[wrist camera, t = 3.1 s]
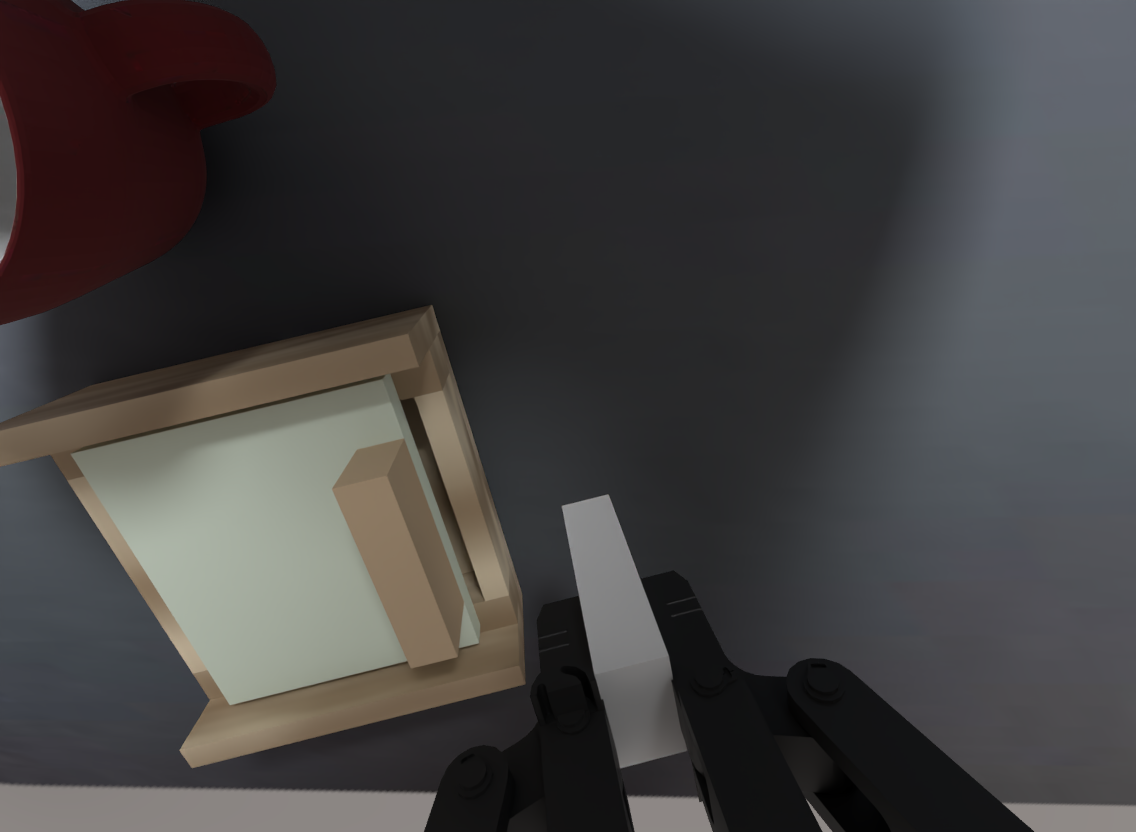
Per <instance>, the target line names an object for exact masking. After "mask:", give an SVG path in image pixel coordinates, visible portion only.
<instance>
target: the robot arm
mask: <svg viewBox="0 0 1136 832" xmlns="http://www.w3.org/2000/svg"><path fill="white" fill-rule="evenodd" d="M562 510H563V515H564V521H565V526H566V531H567V536H568V541H569V546H570V551H571V557H572V562H573V567H574V572H575V577H576V582H577V588H578V593H579V596H577V597H573V598H569V599H565V600H561V601H557V602H553V603H549V604H545V605H543V607H542V610H541V612H540V614H539V617H538V619H537V629H538V639H539V640H538V642H539V652H540V653H539V655H540V668H541V673H540V674H539V675H538V677H537V678H536V680H535V682H534V683H533V685H532V689H531V695H530V698H531V701H532V704H533V707H534V710H535V713H536V716H537V719H538V722H537V724H536V726H535V727H534V728H533V730H532V731H531V732H530V733H529V734H528V735H527V736H526V737H524V738H523V739H522V740H520V741H519V742H517V743H516V744H514V745H512V746H511V747H509V748H508V749H506V750H504V751H503V752H501V751H499V750H498V749H497V748H495V747H491V746H486V745H482V746H478V747H473V748H470V749H468V750H467V751H465V752H463V753H462V754H460V755H459V756H458V757H457V758H456V759H455V760H454V761H453V762H452V763H451V764H450V765H449V766H448V768H447V770H446V772H445V774H444V776H443V778H442V780H441V783H440V786H439V789H438V792H437V795H436V798H435V801H434V804H433V807H432V810H431V813H430V816H429V818H428V821H427V825H426V827H425V830H424V832H634V827H633V822H632V818H631V813H630V808H629V804H628V799H627V794H626V791H625V787H624V783H623V779H622V775H621V770H620V768H624V767H628V766H632V765H635V764H639V763H643V762H647V761H651V760H654V759H658V758H662V757H666V756H670V755H673V754H677V753H681V752H685V751H687V749H688V752H689V755H690V757H691V761H692V766H693V771H694V776H695V782H696V787H697V792H698V797H699V802H701V801H703V804H704V806H705V810H706V813H707V816H708V819H709V822H710V825H711V827H712V831H713V832H822V830H821V828H820V826H819V824H818V822H817V820H816V818H815V816H814V815H813V813H812V811H811V809H810V807H809V805H808V803H807V801H806V799H807V800H808V801H809V803H810V804H811V805H812V806H813V808H814V809H815V810H816V811H817V813H818V814H819V815H820V816H821V818H822V819H823V820H824V821H825V823H826V824H827V825H828V827H829V828H830V829H831V830H832V832H1034V831H1033V830H1032V829H1031V828H1030V827H1028V826H1027V825H1026V824H1025V823H1024V822H1022V820H1020V819H1019V818H1018V817H1017V816H1016V815H1015V814H1013V813H1012V812H1011V811H1010V810H1009V809H1008V808H1007V807H1006V806H1004V805H1003V804H1002V803H1001V802H1000V801H999V800H998V799H996V798H995V797H994V796H993V795H992V794H991V793H990V792H988V791H987V790H986V789H985V788H984V787H983V786H982V785H980V784H979V783H978V782H977V781H976V780H975V779H974V778H972V777H971V776H970V775H969V774H968V773H967V772H965V771H964V770H963V769H962V768H961V767H960V766H959V765H957V764H956V763H955V762H954V761H953V760H952V759H951V758H949V757H948V756H947V755H946V754H945V753H944V752H943V751H941V750H940V749H939V748H938V747H937V746H936V745H935V744H933V743H932V742H931V741H930V740H929V739H928V738H927V737H925V736H924V735H923V734H922V733H921V732H920V731H919V730H917V729H916V728H915V727H914V726H913V725H912V724H911V723H909V722H908V721H907V720H906V719H905V718H904V717H903V716H901V715H900V714H899V713H898V712H897V711H896V710H895V709H893V708H892V707H891V706H890V705H889V704H888V703H887V702H885V701H884V700H883V699H882V698H881V697H880V696H879V695H877V694H876V693H875V692H874V691H873V690H872V689H871V688H869V687H868V686H867V685H866V684H865V683H864V682H863V681H861V680H860V679H859V678H858V677H857V676H856V675H855V674H853V673H852V672H851V671H850V670H848V669H847V668H845V667H843V666H842V665H840V664H839V663H836V662H833V661H830V660H827V659H816V658H810V659H806V660H803V661H800V662H797V663H796V664H795V665H794V666H793V667H791V668H790V669H789V672H788V675H787V677H774V676H760V675H754V674H751V673H748V672H745V671H743V670H741V669H739V668H738V667H736V666H735V665H733V664H732V663H731V662H730V661H729V660H728V659H727V657H726V656H725V654H724V653H723V651H722V649H721V647H720V645H719V643H718V641H717V639H716V637H715V635H714V633H713V631H712V629H711V627H710V625H709V623H708V621H707V619H706V617H705V615H704V613H703V611H702V610H701V607H700V605H699V603H698V601H697V599H696V598H695V595H694V593H693V591H692V589H691V587H690V585H689V583H688V581H687V580H685V579H684V578H683V577H682V576H680V575H679V574H678V573H676V572H675V571H670V572H666V573H662V574H658V575H654V576H650V577H646V578H642V579H640V577H639V575H638V572H637V569H636V567H635V564H634V561H633V559H632V556H631V553H630V551H629V548H628V545H627V543H626V540H625V537H624V534H623V532H622V529H621V526H620V524H619V521H618V518H617V516H616V513H615V510H614V508H613V505H612V502H611V500H610V497H609V494H608V495H604V496H600V497H596V498H592V499H588V500H584V501H580V502H576V503H572V504H568V505H563V506H562ZM686 746H687V748H686ZM804 796H805V797H804ZM805 798H806V799H805Z"/></svg>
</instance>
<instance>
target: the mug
mask: <svg viewBox="0 0 1136 832" xmlns="http://www.w3.org/2000/svg"><path fill="white" fill-rule="evenodd" d="M176 82H177V83H176ZM276 86H277V84H276V74H275V69H274V66H273V63H272V60H271V57H270V54H269V52H268V51H267V49H266V47H265V45H264V43H263V42H262V40H261V39H260V38H259V36H258V35H257V34H256V33H255V32H254V30H253V29H252V28H251V27H250V26H249V25H248V24H247V23H246V22H244V21H243V20H241V19H240V18H239V17H237V16H235V15H233V14H231V13H229V12H227V11H224V10H222V9H220V8H217V7H214V6H210V5H207V4H203V3H198V2H192V1H185V0H126V1H120V2H115V3H110V4H105V5H102V6H99V7H95V8H92V9H89V10H86V11H84V10H83V9H82V8H80V7H79V6H78V5H76V4H75V3H74V2H73V1H71V0H0V325H2V324H6V323H10V322H13V321H17V320H20V319H23V318H27V317H30V316H33V315H37V314H40V313H43V312H45V311H48V310H50V309H53V308H55V307H58V306H60V305H62V304H64V303H67V302H69V301H71V300H73V299H76V298H78V297H80V296H82V295H84V294H86V293H88V292H90V291H92V290H94V289H96V288H99V287H101V286H103V285H105V284H107V283H109V282H111V281H113V280H115V279H117V278H119V277H121V276H123V275H125V274H127V273H129V272H131V271H133V270H135V269H138V268H140V267H142V266H144V265H146V264H148V263H150V262H152V261H153V260H155V259H157V258H158V257H160V256H162V255H164V254H165V253H167V252H168V251H169V250H170V249H172V248H173V247H174V246H175V245H176V244H178V243H179V242H180V241H181V240H182V239H183V238H184V236H185V235H186V234H187V233H188V231H189V230H190V229H191V227H192V225H193V224H194V222H195V220H196V219H197V217H198V214H199V212H200V210H201V207H202V204H203V201H204V196H205V191H206V182H207V169H206V160H205V155H204V149H203V145H202V140H201V135H200V130H202V129H204V128H207V127H210V126H213V125H216V124H220V123H223V122H226V121H230V120H233V119H236V118H240V117H242V116H245V115H247V114H250V113H252V112H254V111H256V110H257V109H259V108H261V107H263V106H264V105H265V104H267V103H268V102H269V101H270V100H271V98H272V97H273V94H274V91H275V88H276Z"/></svg>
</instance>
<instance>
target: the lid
mask: <svg viewBox="0 0 1136 832" xmlns="http://www.w3.org/2000/svg"><path fill="white" fill-rule="evenodd" d="M71 456H72V457H73V459H74V460H75V462H76V464H77V465H78V467H79V468H80V470H81V471H82V473H83V475H84V476H85V478H86V479H87V481H88V482H89V484H90V486H91V487H92V489H93V490H94V492H95V494H96V495H97V497H98V498H99V500H100V501H101V503H102V505H103V506H104V508H105V509H106V511H107V512H108V514H109V516H110V517H111V519H112V520H113V522H114V523H115V525H116V527H117V528H118V530H119V531H120V533H121V534H122V536H123V538H124V539H125V541H126V542H127V544H128V546H129V547H130V549H131V550H132V552H133V553H134V555H135V557H136V558H137V560H138V561H139V563H140V564H141V566H142V568H143V569H144V571H145V572H146V574H147V575H148V577H149V579H150V580H151V582H152V583H153V585H154V586H155V588H156V590H157V591H158V593H159V594H160V596H161V598H162V599H163V601H164V602H165V604H166V605H167V607H168V609H169V610H170V612H171V613H172V615H173V616H174V618H175V620H176V621H177V623H178V624H179V626H180V627H181V629H182V631H183V632H184V634H185V635H186V637H187V638H188V640H189V642H190V643H191V645H192V646H193V648H194V650H195V651H196V653H197V654H198V656H199V657H200V659H201V661H202V662H203V664H204V665H205V667H206V668H207V670H208V672H209V673H210V675H211V676H212V678H213V679H214V681H215V683H216V684H217V686H218V687H219V689H220V690H221V692H222V694H223V695H224V697H225V698H226V700H227V702H228V703H229V705H233V704H237V703H241V702H245V701H249V700H253V699H257V698H261V697H265V696H269V695H273V694H277V693H281V692H285V691H289V690H293V689H297V688H301V687H305V686H309V685H313V684H317V683H321V682H325V681H329V680H333V679H337V678H341V677H345V676H349V675H353V674H357V673H361V672H365V671H369V670H374V669H378V668H382V667H386V666H390V665H394V664H398V663H402V662H406V661H408V663H409V666H410V668H411V669H412V668H416V667H420V666H424V665H428V664H432V663H436V662H440V661H444V660H448V659H452V658H456V657H458V651H459V648H462V647H466V646H470V645H474V644H478V643H479V637H480V623H479V620H478V617H477V614H476V611H475V609H474V606H473V603H472V600H471V597H470V595H469V592H468V589H467V586H466V584H465V581H464V578H463V575H462V572H461V570H460V567H459V564H458V561H457V558H456V556H455V553H454V550H453V547H452V545H451V542H450V539H449V536H448V533H447V531H446V528H445V525H444V522H443V519H442V517H441V514H440V511H439V508H438V505H437V503H436V500H435V497H434V494H433V492H432V489H431V486H430V483H429V480H428V478H427V475H426V472H425V469H424V466H423V464H422V461H421V458H420V455H419V453H418V450H417V447H416V444H415V441H414V439H413V436H412V433H411V430H410V427H409V425H408V422H407V419H406V416H405V414H404V411H403V408H402V405H401V402H400V400H399V397H398V394H397V391H396V388H395V386H394V383H393V380H392V377H391V374H386V375H382V376H378V377H373V378H369V379H365V380H361V381H357V382H352V383H348V384H344V385H340V386H336V387H332V388H327V389H323V390H319V391H315V392H311V393H306V394H302V395H298V396H294V397H290V398H285V399H281V400H277V401H273V402H269V403H264V404H260V405H256V406H252V407H248V408H244V409H239V410H235V411H231V412H227V413H223V414H218V415H214V416H210V417H206V418H202V419H197V420H193V421H189V422H185V423H181V424H177V425H172V426H168V427H164V428H160V429H156V430H151V431H147V432H143V433H139V434H135V435H130V436H126V437H122V438H118V439H114V440H109V441H105V442H101V443H97V444H93V445H89V446H84V447H82V448H80V449H78V450H76V451H75V452H73V453H71Z"/></svg>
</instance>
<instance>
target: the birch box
mask: <svg viewBox="0 0 1136 832" xmlns="http://www.w3.org/2000/svg"><path fill="white" fill-rule="evenodd" d="M386 374H391V377H392V380H393V383H394V386H395V388H396V391H397V394H398V397H399V400H400V402H401V405H402V408H403V411H404V414H405V416H406V419H407V422H408V425H409V427H410V430H411V433H412V436H413V439H414V441H415V444H416V447H417V450H418V453H419V455H420V458H421V461H422V464H423V466H424V469H425V472H426V475H427V478H428V480H429V483H430V486H431V489H432V492H433V494H434V497H435V500H436V503H437V505H438V508H439V511H440V514H441V517H442V519H443V522H444V525H445V528H446V531H447V533H448V536H449V539H450V542H451V545H452V547H453V550H454V553H455V556H456V558H457V561H458V564H459V567H460V570H461V572H462V575H463V578H464V581H465V584H466V586H467V589H468V592H469V595H470V597H471V600H472V603H473V606H474V609H475V611H476V614H477V617H478V620H479V623H480V637H479V643H478V644H474V645H470V646H466V647H462V648H459V651H458V657H456V658H452V659H448V660H444V661H440V662H436V663H432V664H428V665H424V666H420V667H416V668H412V669H411V668H410V666H409V663H408V661H406V662H402V663H398V664H394V665H390V666H386V667H382V668H378V669H374V670H369V671H365V672H361V673H357V674H353V675H349V676H345V677H341V678H337V679H333V680H329V681H325V682H321V683H317V684H313V685H309V686H305V687H301V688H297V689H293V690H289V691H285V692H281V693H277V694H273V695H269V696H265V697H261V698H257V699H253V700H249V701H245V702H241V703H237V704H233V705H229V703H228V702H227V700H226V698H225V697H224V695H223V694H222V692H221V690H220V689H219V687H218V686H217V684H216V683H215V681H214V679H213V678H212V676H211V675H210V673H209V672H208V670H207V668H206V667H205V665H204V664H203V662H202V661H201V659H200V657H199V656H198V654H197V653H196V651H195V650H194V648H193V646H192V645H191V643H190V642H189V640H188V638H187V637H186V635H185V634H184V632H183V631H182V629H181V627H180V626H179V624H178V623H177V621H176V620H175V618H174V616H173V615H172V613H171V612H170V610H169V609H168V607H167V605H166V604H165V602H164V601H163V599H162V598H161V596H160V594H159V593H158V591H157V590H156V588H155V586H154V585H153V583H152V582H151V580H150V579H149V577H148V575H147V574H146V572H145V571H144V569H143V568H142V566H141V564H140V563H139V561H138V560H137V558H136V557H135V555H134V553H133V552H132V550H131V549H130V547H129V546H128V544H127V542H126V541H125V539H124V538H123V536H122V534H121V533H120V531H119V530H118V528H117V527H116V525H115V523H114V522H113V520H112V519H111V517H110V516H109V514H108V512H107V511H106V509H105V508H104V506H103V505H102V503H101V501H100V500H99V498H98V497H97V495H96V494H95V492H94V490H93V489H92V487H91V486H90V484H89V482H88V481H87V479H86V478H85V476H84V475H83V473H82V471H81V470H80V468H79V467H78V465H77V464H76V462H75V460H74V459H73V457H72V456H71V453H73V452H75V451H76V450H78V449H80V448H82V447H84V446H89V445H93V444H97V443H101V442H105V441H109V440H114V439H118V438H122V437H126V436H130V435H135V434H139V433H143V432H147V431H151V430H156V429H160V428H164V427H168V426H172V425H177V424H181V423H185V422H189V421H193V420H197V419H202V418H206V417H210V416H214V415H218V414H223V413H227V412H231V411H235V410H239V409H244V408H248V407H252V406H256V405H260V404H264V403H269V402H273V401H277V400H281V399H285V398H290V397H294V396H298V395H302V394H306V393H311V392H315V391H319V390H323V389H327V388H332V387H336V386H340V385H344V384H348V383H352V382H357V381H361V380H365V379H369V378H373V377H378V376H382V375H386ZM47 455H51V456H52V458H53V459H54V461H55V463H56V464H57V466H58V467H59V469H60V470H61V472H62V473H63V475H64V476H65V478H66V479H67V481H68V483H69V484H70V486H71V487H72V489H73V490H74V492H75V493H76V495H77V496H78V498H79V499H80V501H81V503H82V504H83V506H84V507H85V509H86V510H87V512H88V513H89V515H90V516H91V518H92V519H93V521H94V522H95V524H96V526H97V527H98V529H99V530H100V532H101V533H102V535H103V536H104V538H105V539H106V541H107V542H108V544H109V546H110V547H111V549H112V550H113V552H114V553H115V555H116V556H117V558H118V559H119V561H120V562H121V564H122V566H123V567H124V569H125V570H126V572H127V573H128V575H129V576H130V578H131V579H132V581H133V582H134V584H135V585H136V587H137V589H138V590H139V592H140V593H141V595H142V596H143V598H144V599H145V601H146V602H147V604H148V605H149V607H150V609H151V610H152V612H153V613H154V615H155V616H156V618H157V619H158V621H159V622H160V624H161V625H162V627H163V629H164V630H165V632H166V633H167V635H168V636H169V638H170V639H171V641H172V642H173V644H174V645H175V647H176V648H177V650H178V652H179V653H180V655H181V656H182V658H183V659H184V661H185V662H186V664H187V665H188V667H189V668H190V670H191V672H192V673H193V675H194V676H195V678H196V679H197V681H198V682H199V684H200V685H201V687H202V688H203V690H204V692H205V693H206V695H207V696H208V698H209V699H210V701H209V703H208V705H207V706H206V708H205V709H204V711H203V713H202V714H201V716H200V718H199V719H198V721H197V723H196V724H195V726H194V727H193V729H192V731H191V732H190V734H189V736H188V737H187V739H186V741H185V742H184V744H183V745H182V747H181V749H180V750H179V751H180V752H181V753H182V755H183V756H184V757H185V759H186V760H187V762H188V763H189V764H190V766H191V767H192V768H195V767H199V766H203V765H207V764H211V763H215V762H219V761H223V760H227V759H231V758H235V757H239V756H243V755H246V754H250V753H254V752H258V751H262V750H266V749H270V748H274V747H278V746H282V745H286V744H290V743H294V742H298V741H302V740H306V739H310V738H314V737H318V736H322V735H326V734H330V733H334V732H338V731H342V730H346V729H350V728H354V727H358V726H362V725H366V724H370V723H374V722H378V721H382V720H386V719H390V718H394V717H398V716H402V715H406V714H410V713H414V712H418V711H422V710H426V709H430V708H434V707H438V706H441V705H445V704H449V703H453V702H457V701H461V700H465V699H469V698H473V697H477V696H481V695H485V694H489V693H493V692H497V691H501V690H505V689H509V688H513V687H517V686H521V685H525V684H526V683H525V656H524V628H523V601H522V592H521V589H520V585H519V582H518V579H517V576H516V573H515V569H514V566H513V563H512V560H511V556H510V553H509V550H508V547H507V544H506V540H505V537H504V534H503V531H502V528H501V524H500V521H499V518H498V515H497V512H496V508H495V505H494V502H493V499H492V495H491V492H490V489H489V486H488V483H487V479H486V476H485V473H484V470H483V467H482V463H481V460H480V457H479V454H478V451H477V447H476V444H475V441H474V438H473V435H472V431H471V428H470V425H469V422H468V418H467V415H466V412H465V409H464V406H463V402H462V399H461V396H460V393H459V390H458V386H457V383H456V380H455V377H454V374H453V370H452V367H451V364H450V361H449V357H448V354H447V351H446V348H445V345H444V341H443V338H442V335H441V332H440V329H439V325H438V322H437V319H436V316H435V313H434V309H433V306H432V305H428V306H424V307H420V308H416V309H411V310H407V311H403V312H399V313H395V314H390V315H386V316H382V317H378V318H373V319H369V320H365V321H361V322H356V323H352V324H348V325H344V326H340V327H335V328H331V329H327V330H323V331H318V332H314V333H310V334H306V335H302V336H297V337H293V338H289V339H285V340H280V341H276V342H272V343H268V344H263V345H259V346H255V347H251V348H247V349H242V350H238V351H234V352H230V353H225V354H221V355H217V356H213V357H209V358H204V359H200V360H196V361H192V362H187V363H183V364H179V365H175V366H170V367H166V368H162V369H158V370H154V371H149V372H145V373H141V374H137V375H132V376H128V377H124V378H120V379H116V380H111V381H107V382H103V383H99V384H94V385H91V386H88V387H86V388H84V389H81V390H79V391H76V392H74V393H72V394H69V395H67V396H64V397H62V398H59V399H57V400H55V401H52V402H50V403H47V404H45V405H43V406H40V407H38V408H35V409H33V410H31V411H28V412H26V413H23V414H21V415H19V416H16V417H14V418H11V419H9V420H7V421H4V422H2V423H0V467H1V466H5V465H9V464H13V463H17V462H22V461H26V460H30V459H34V458H38V457H42V456H47Z"/></svg>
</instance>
